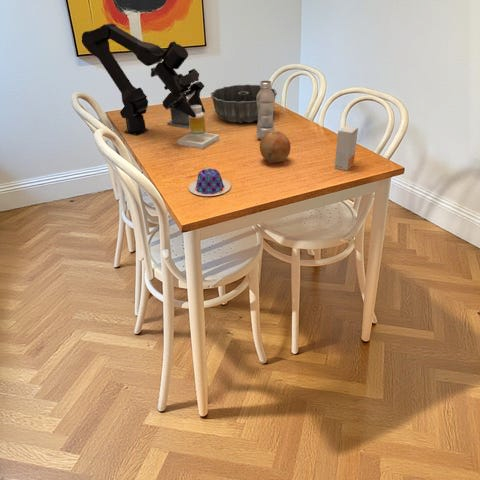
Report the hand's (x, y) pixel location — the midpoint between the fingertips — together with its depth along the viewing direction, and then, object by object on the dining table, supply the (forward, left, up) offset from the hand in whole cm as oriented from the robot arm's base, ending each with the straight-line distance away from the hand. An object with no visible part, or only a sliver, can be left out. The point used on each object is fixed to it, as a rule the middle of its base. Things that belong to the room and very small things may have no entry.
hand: (199, 114), depth 157 cm
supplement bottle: (-1, 0, -7) cm, 7 cm away
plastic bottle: (+19, +13, -10) cm, 25 cm away
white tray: (-1, 0, -10) cm, 10 cm away
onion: (+31, -4, -10) cm, 33 cm away
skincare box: (+52, +2, -10) cm, 53 cm away
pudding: (+23, -30, -11) cm, 39 cm away
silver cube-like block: (-18, +15, -10) cm, 26 cm away
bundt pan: (-1, +33, -10) cm, 35 cm away
